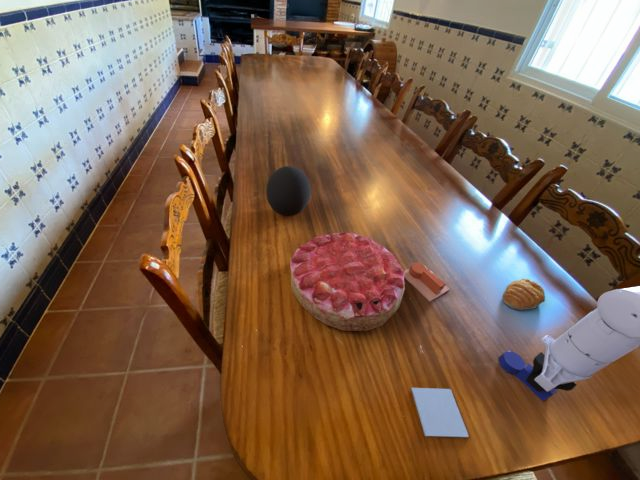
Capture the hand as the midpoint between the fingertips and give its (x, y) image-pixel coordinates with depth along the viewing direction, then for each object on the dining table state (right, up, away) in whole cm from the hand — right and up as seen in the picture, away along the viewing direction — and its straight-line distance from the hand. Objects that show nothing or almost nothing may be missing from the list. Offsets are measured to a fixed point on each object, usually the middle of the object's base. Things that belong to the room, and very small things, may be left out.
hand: (536, 381), depth 53 cm
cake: (-31, +13, +16) cm, 38 cm away
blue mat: (-19, -3, -3) cm, 20 cm away
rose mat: (-12, +14, +18) cm, 26 cm away
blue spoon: (-1, 0, +2) cm, 2 cm away
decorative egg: (-45, +31, +35) cm, 65 cm away
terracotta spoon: (-12, +14, +18) cm, 26 cm away
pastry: (+10, +10, +16) cm, 21 cm away
